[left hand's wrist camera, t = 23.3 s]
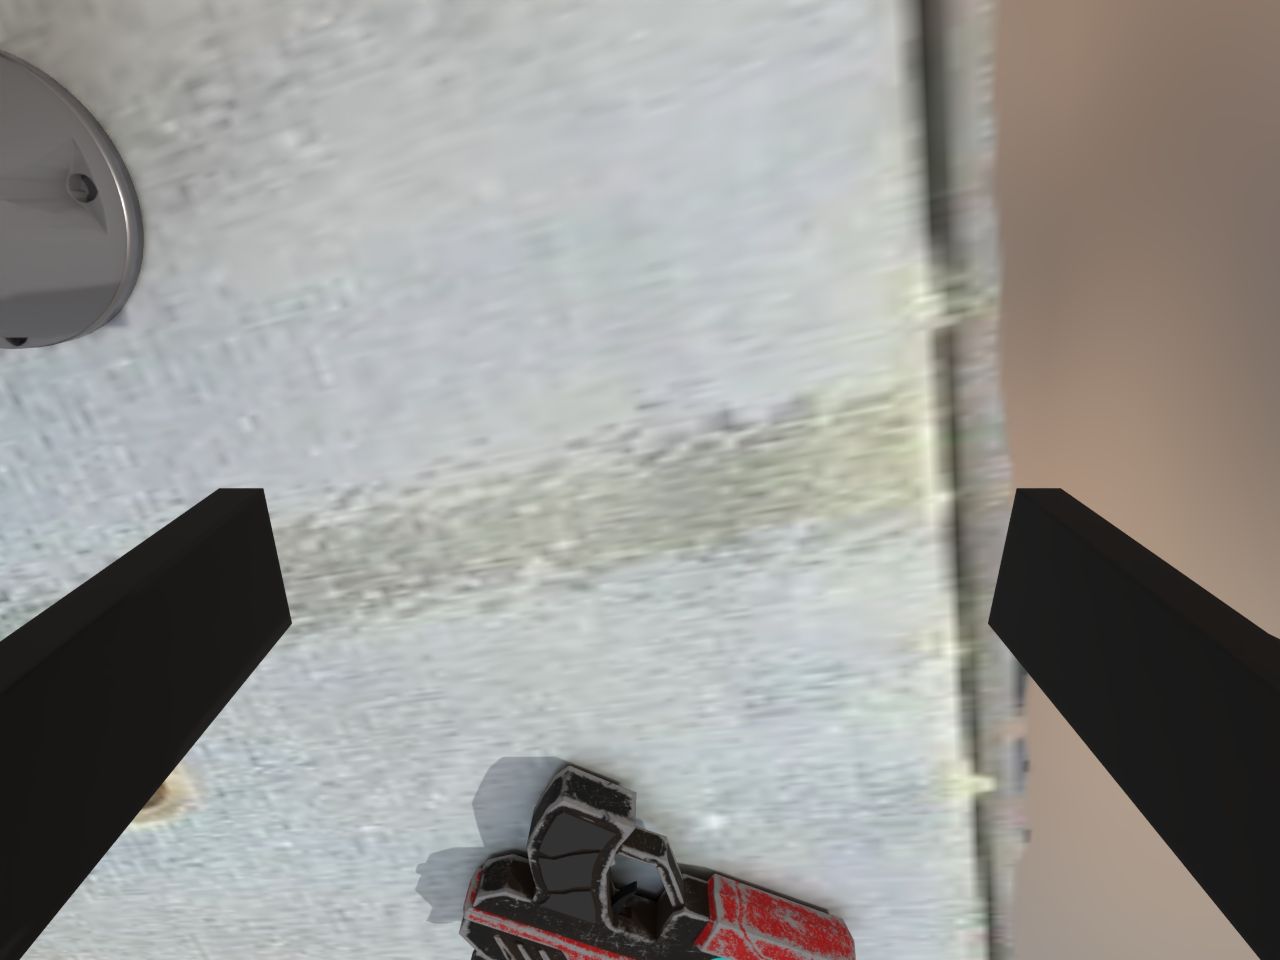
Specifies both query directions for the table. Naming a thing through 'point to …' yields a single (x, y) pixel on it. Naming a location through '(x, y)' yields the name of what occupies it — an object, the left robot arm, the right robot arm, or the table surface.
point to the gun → (626, 895)
